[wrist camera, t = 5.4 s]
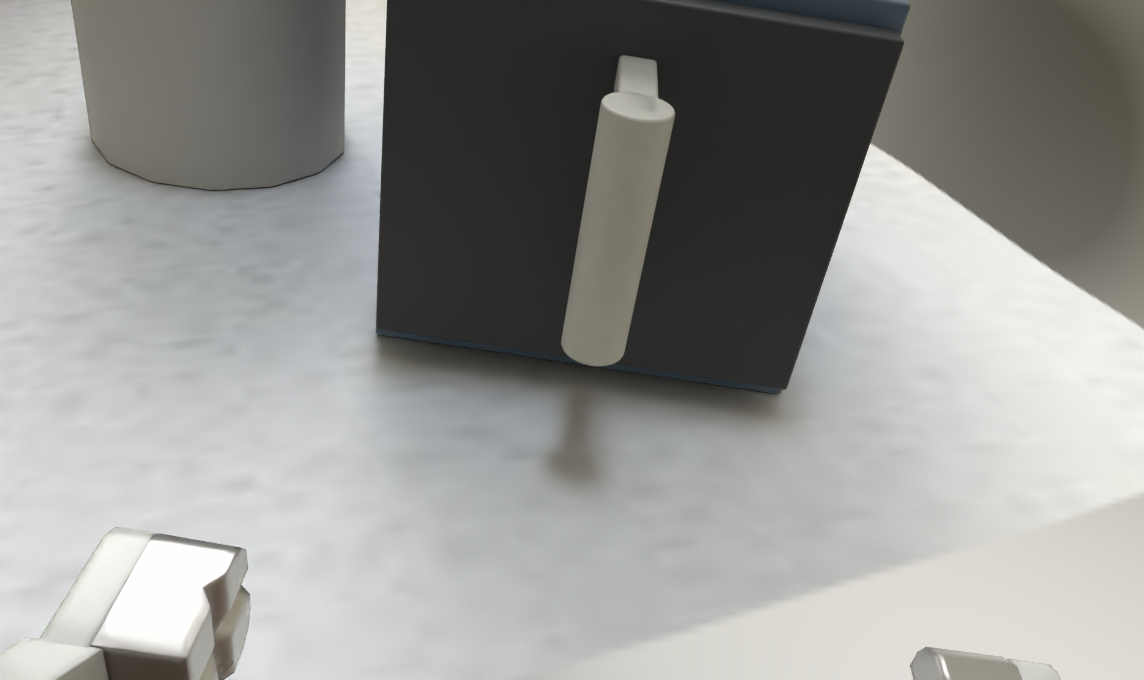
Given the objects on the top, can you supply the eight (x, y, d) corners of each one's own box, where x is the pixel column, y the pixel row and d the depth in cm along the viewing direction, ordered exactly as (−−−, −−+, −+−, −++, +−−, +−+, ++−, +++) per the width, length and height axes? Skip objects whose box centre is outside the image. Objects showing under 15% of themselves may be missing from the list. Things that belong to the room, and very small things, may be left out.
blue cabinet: (780, 395, 26) (912, 4, 20) (375, 335, 26) (389, -82, 20) (736, 175, 38) (812, -117, 32) (456, 130, 37) (479, -173, 32)
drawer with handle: (805, 481, 22) (949, 102, 17) (342, 413, 22) (346, 5, 17) (740, 168, 36) (809, -93, 31) (457, 123, 36) (478, -148, 31)
